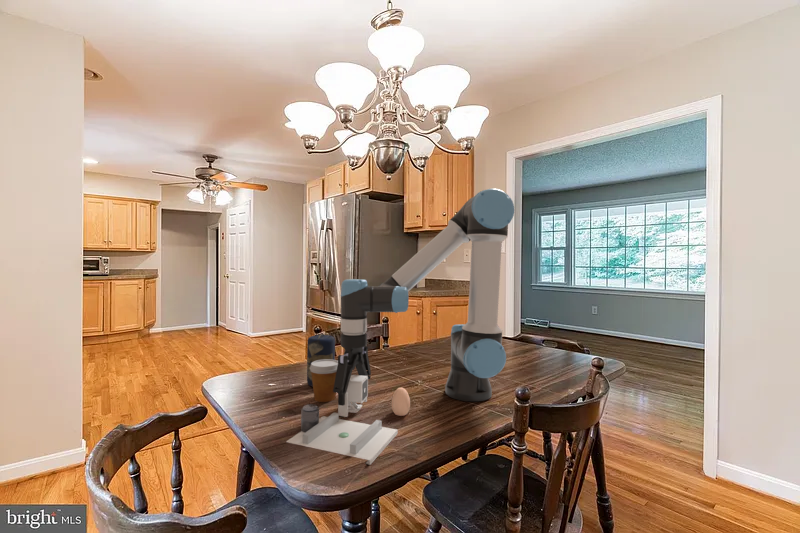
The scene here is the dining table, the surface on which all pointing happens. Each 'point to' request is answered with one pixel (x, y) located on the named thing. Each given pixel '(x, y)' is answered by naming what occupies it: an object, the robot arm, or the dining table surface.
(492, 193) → the robot arm
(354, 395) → the white rounded plastic box
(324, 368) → the disposable coffee cup
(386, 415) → the dining table surface
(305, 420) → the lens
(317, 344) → the canister
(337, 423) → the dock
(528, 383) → the dining table surface
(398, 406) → the egg
